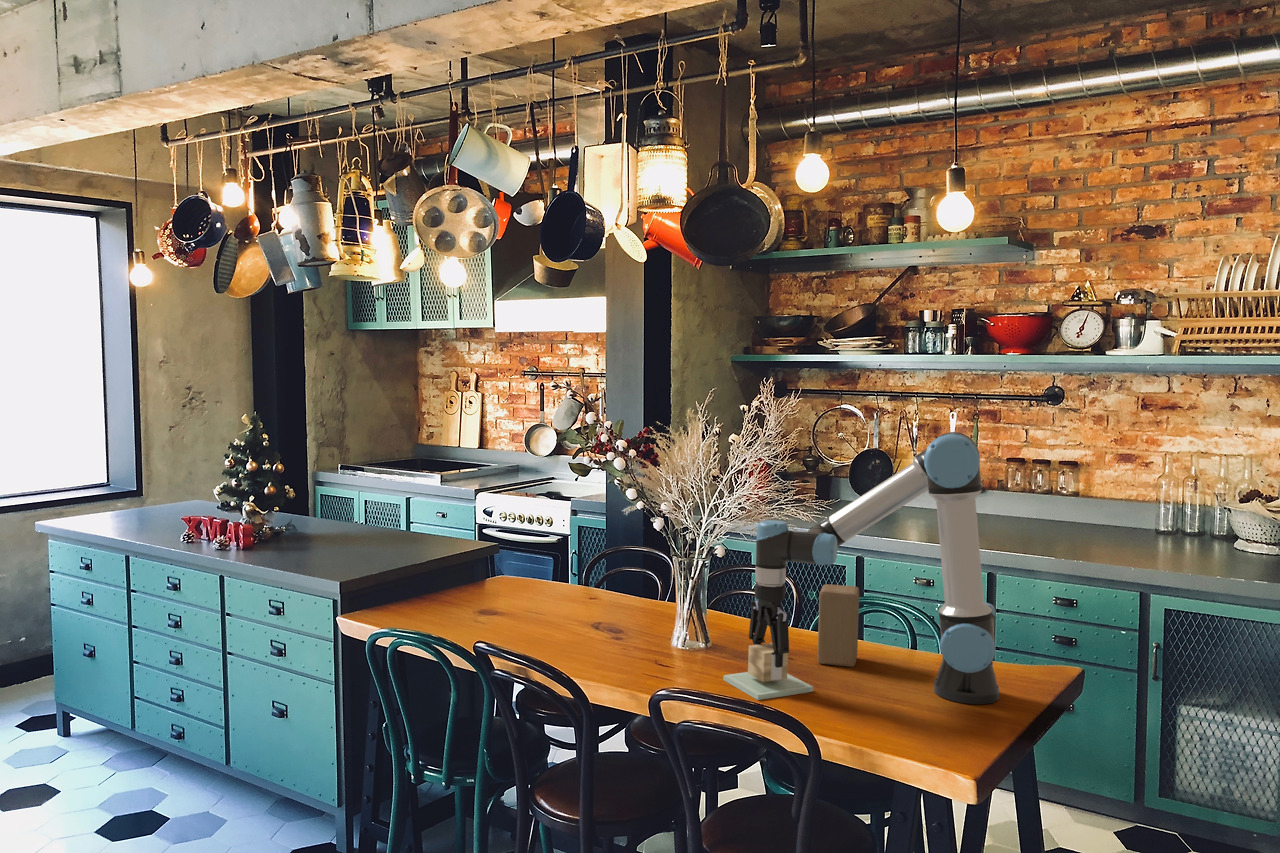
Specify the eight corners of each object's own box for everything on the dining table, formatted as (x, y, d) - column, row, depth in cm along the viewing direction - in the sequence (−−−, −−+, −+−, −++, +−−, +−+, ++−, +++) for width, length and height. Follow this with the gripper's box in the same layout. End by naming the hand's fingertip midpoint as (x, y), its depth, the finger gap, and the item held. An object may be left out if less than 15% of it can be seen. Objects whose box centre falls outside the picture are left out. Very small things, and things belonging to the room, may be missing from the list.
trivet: (813, 691, 230) (813, 686, 230) (757, 700, 223) (757, 694, 223) (776, 672, 244) (776, 667, 244) (723, 679, 238) (723, 675, 238)
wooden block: (857, 657, 259) (859, 586, 258) (855, 668, 249) (857, 593, 248) (820, 654, 262) (822, 583, 261) (816, 664, 252) (819, 590, 251)
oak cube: (787, 678, 232) (788, 650, 232) (763, 681, 229) (764, 653, 229) (771, 670, 238) (772, 643, 238) (747, 673, 235) (748, 645, 235)
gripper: (806, 591, 225) (803, 685, 226) (761, 574, 243) (758, 661, 244) (780, 593, 222) (777, 688, 223) (736, 576, 240) (733, 664, 241)
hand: (767, 674), depth 234 cm, fingers closed on oak cube, 7 cm apart
